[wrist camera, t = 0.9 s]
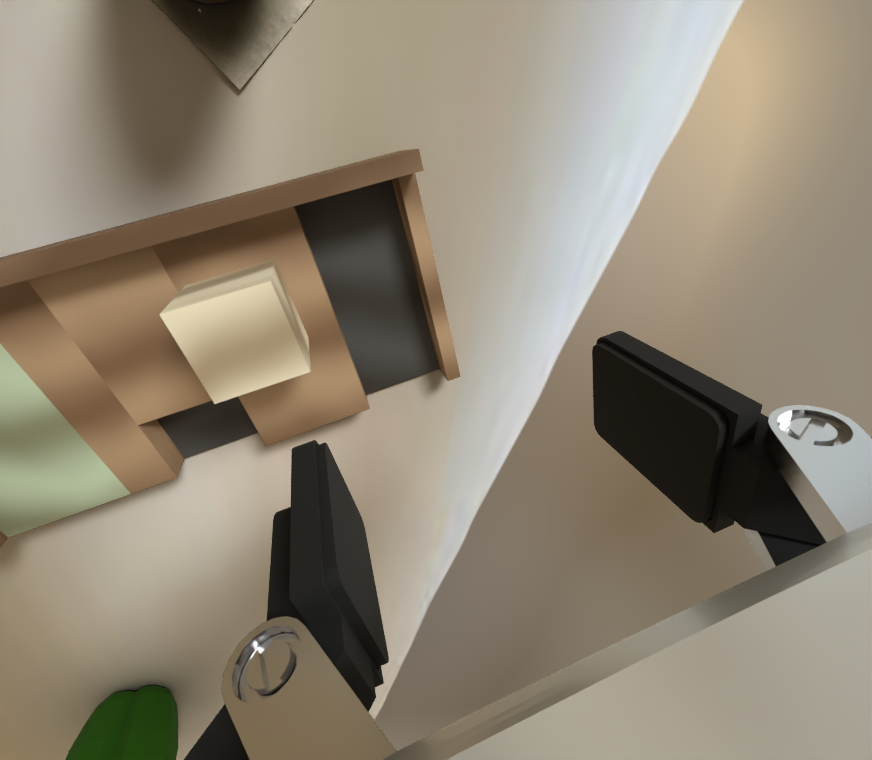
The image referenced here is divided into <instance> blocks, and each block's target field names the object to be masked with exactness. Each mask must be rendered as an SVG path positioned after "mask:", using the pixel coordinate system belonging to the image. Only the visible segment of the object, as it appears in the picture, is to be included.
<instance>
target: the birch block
mask: <svg viewBox="0 0 872 760" xmlns="http://www.w3.org/2000/svg"><path fill="white" fill-rule="evenodd" d="M159 315H160V316H161V318H162V320H163V321H164V323H165V324H166V326H167V328H168V329H169V331H170V333H171V334H172V336H173V337H174V339H175V341H176V342H177V344H178V346H179V347H180V349H181V350H182V352H183V354H184V355H185V357H186V359H187V360H188V362H189V363H190V365H191V367H192V368H193V370H194V371H195V373H196V375H197V376H198V378H199V380H200V381H201V383H202V384H203V386H204V388H205V389H206V391H207V393H208V394H209V396H210V397H211V399H212V401H213V402H214V404H217V403H220V402H223V401H226V400H229V399H231V398H234V397H237V396H240V395H243V394H246V393H249V392H252V391H255V390H258V389H261V388H264V387H267V386H270V385H273V384H276V383H279V382H282V381H285V380H288V379H291V378H294V377H297V376H300V375H303V374H306V373H309V372H311V369H310V354H309V338H308V335H307V333H306V330H305V328H304V326H303V323H302V321H301V319H300V316H299V314H298V312H297V309H296V307H295V305H294V302H293V300H292V298H291V295H290V293H289V291H288V288H287V286H286V284H285V281H284V279H283V277H282V274H281V272H280V269H279V267H278V265H277V262H276V260H275V259H274V260H271V261H268V262H264V263H261V264H257V265H254V266H251V267H247V268H244V269H240V270H237V271H233V272H230V273H227V274H223V275H220V276H216V277H213V278H210V279H206V280H203V281H199V282H196V283H193V284H189V285H186V286H184V287H183V289H182V290H181V291H180V292H179V293H178V294H177V295H176V296H175V298H174V299H173V300H172V301H171V302H170V303H169V304H168V305H167V306H166V308H165V309H164V310H163V311H162V312H161V313H160V314H159Z"/></svg>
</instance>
